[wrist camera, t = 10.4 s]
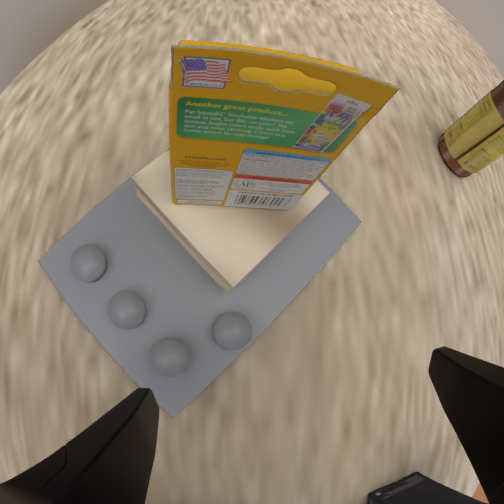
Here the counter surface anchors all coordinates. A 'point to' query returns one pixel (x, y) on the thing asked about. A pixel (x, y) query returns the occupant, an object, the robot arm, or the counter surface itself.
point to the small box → (419, 493)
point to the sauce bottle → (476, 135)
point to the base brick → (220, 224)
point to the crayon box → (260, 122)
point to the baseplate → (179, 291)
